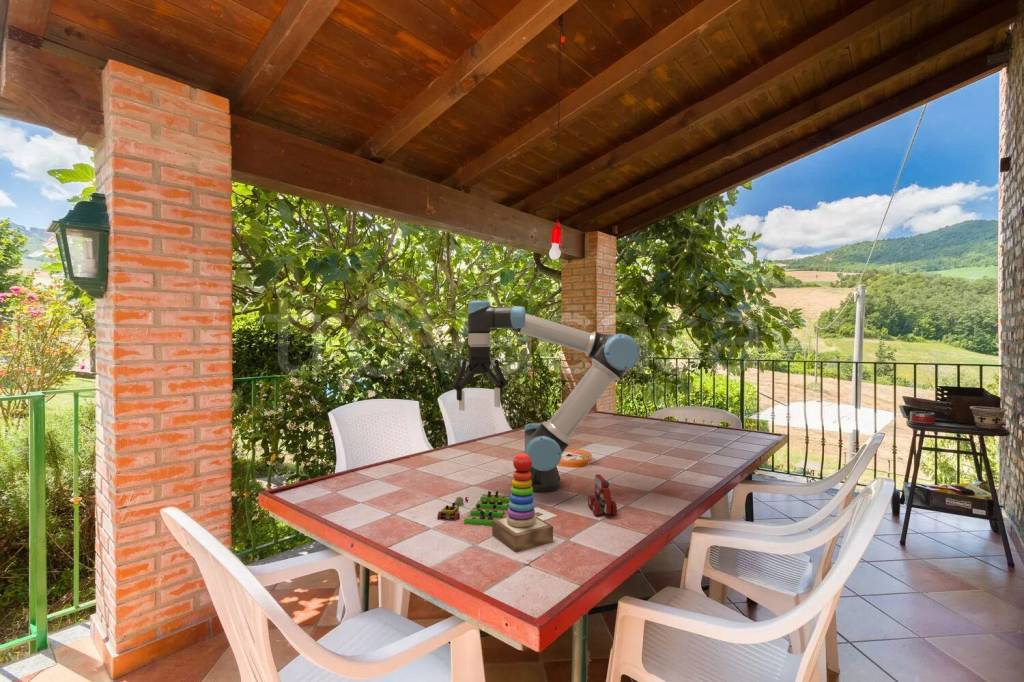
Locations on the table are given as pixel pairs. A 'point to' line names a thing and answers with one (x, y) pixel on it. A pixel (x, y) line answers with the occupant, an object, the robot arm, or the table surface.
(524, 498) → the stacking toy
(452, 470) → the table surface
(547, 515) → the page
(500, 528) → the pedestal
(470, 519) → the toy garden set
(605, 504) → the toy fire truck
